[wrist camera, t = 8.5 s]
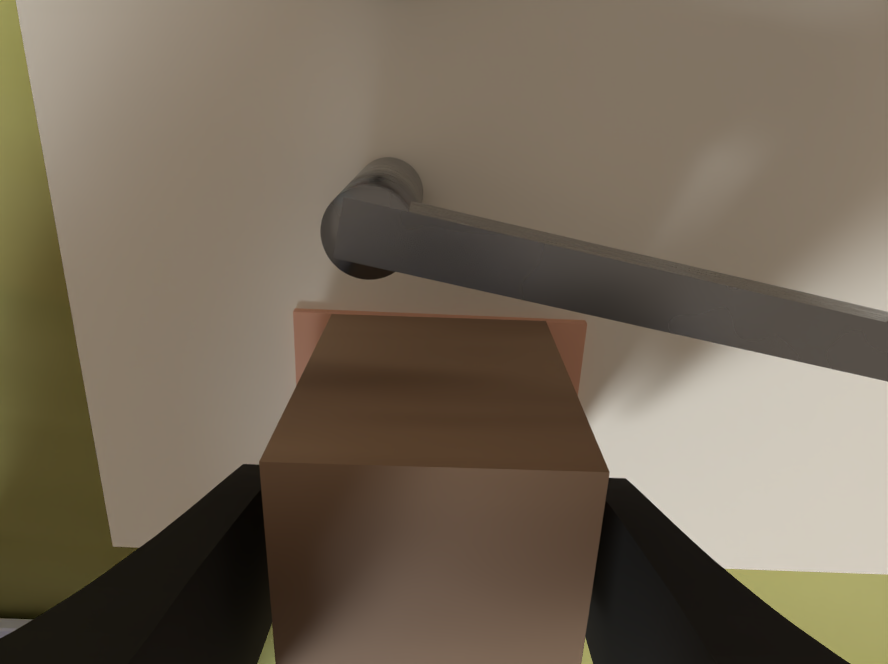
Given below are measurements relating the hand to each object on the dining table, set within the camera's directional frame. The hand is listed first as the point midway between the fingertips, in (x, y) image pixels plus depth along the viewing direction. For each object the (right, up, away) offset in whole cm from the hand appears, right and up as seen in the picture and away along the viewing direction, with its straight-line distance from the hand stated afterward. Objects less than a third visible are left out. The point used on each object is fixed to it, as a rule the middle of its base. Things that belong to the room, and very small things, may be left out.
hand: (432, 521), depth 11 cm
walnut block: (0, +2, +2) cm, 3 cm away
